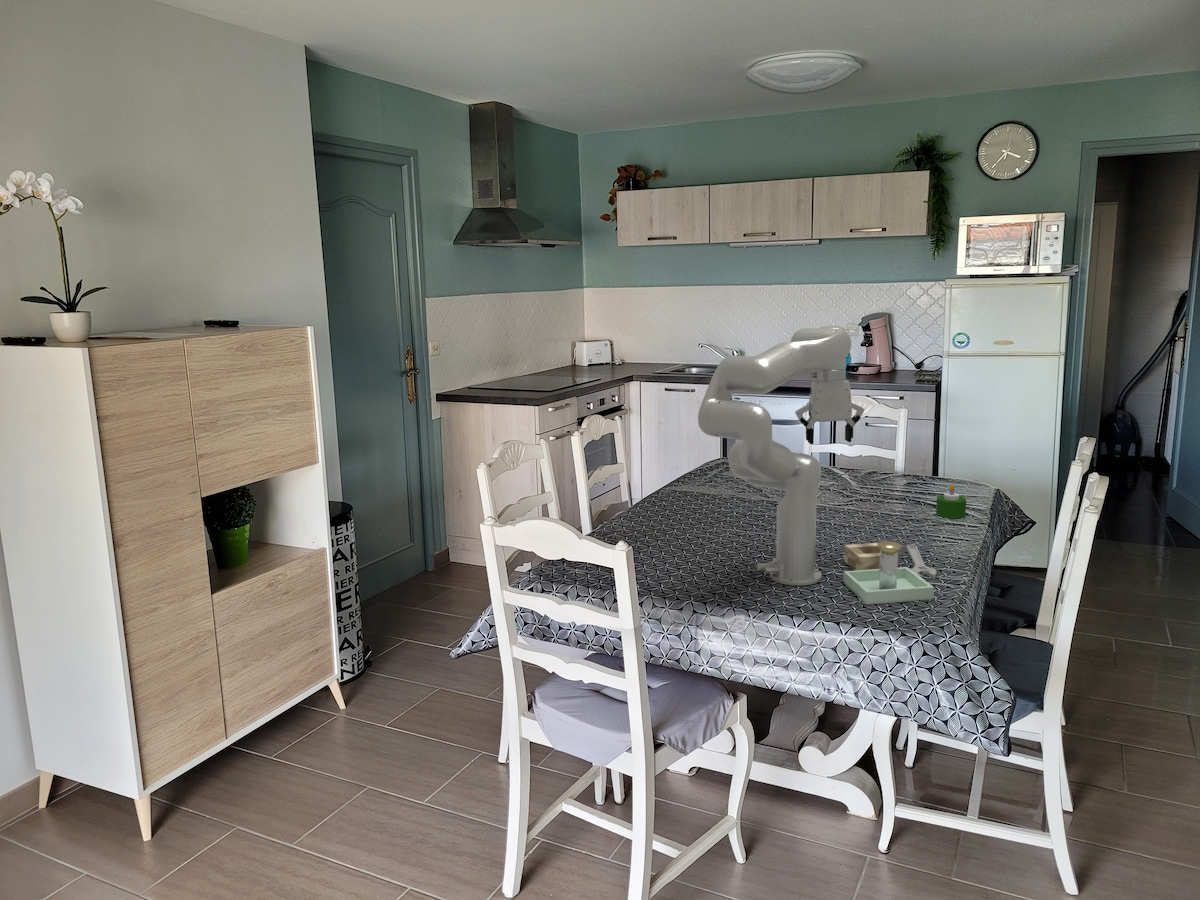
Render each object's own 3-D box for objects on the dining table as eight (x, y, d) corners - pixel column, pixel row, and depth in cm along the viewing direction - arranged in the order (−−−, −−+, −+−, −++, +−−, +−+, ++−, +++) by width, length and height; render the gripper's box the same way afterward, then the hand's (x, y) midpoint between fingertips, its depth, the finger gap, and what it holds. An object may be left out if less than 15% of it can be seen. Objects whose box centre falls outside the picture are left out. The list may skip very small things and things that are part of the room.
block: (859, 574, 220) (859, 557, 219) (844, 561, 229) (844, 545, 228) (897, 571, 220) (898, 554, 220) (881, 558, 230) (881, 542, 229)
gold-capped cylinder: (881, 593, 205) (883, 548, 203) (872, 585, 210) (873, 542, 208) (903, 592, 206) (904, 547, 203) (893, 584, 211) (894, 540, 208)
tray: (866, 604, 200) (866, 592, 200) (843, 583, 214) (843, 571, 214) (933, 599, 202) (933, 587, 201) (906, 578, 216) (906, 567, 215)
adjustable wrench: (905, 549, 239) (905, 543, 238) (930, 551, 237) (930, 544, 236) (910, 580, 215) (910, 573, 215) (938, 582, 213) (938, 575, 213)
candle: (937, 519, 263) (938, 487, 261) (934, 511, 271) (936, 480, 269) (967, 520, 261) (968, 488, 259) (963, 512, 269) (965, 481, 266)
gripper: (799, 379, 217) (799, 446, 221) (869, 375, 217) (867, 443, 221) (792, 375, 224) (792, 440, 228) (859, 371, 225) (858, 437, 228)
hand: (829, 442), depth 225 cm, fingers open, 9 cm apart
